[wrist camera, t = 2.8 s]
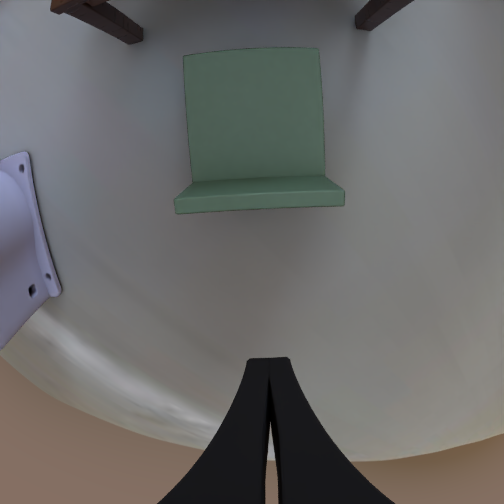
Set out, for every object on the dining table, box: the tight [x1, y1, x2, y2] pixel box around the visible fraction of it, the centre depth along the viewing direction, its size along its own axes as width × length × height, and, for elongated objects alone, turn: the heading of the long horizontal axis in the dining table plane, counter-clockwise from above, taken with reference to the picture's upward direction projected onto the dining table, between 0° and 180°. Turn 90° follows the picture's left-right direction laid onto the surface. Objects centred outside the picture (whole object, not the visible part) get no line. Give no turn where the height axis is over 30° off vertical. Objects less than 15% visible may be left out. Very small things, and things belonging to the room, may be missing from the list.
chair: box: [174, 47, 345, 214], centre depth 10 cm, size 6×5×6 cm
